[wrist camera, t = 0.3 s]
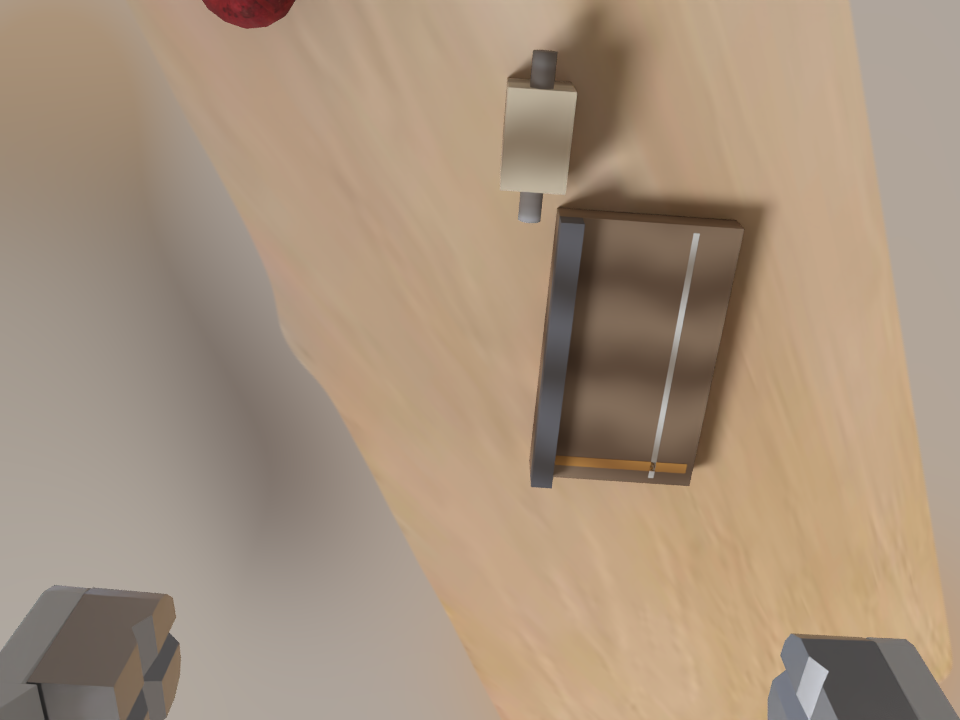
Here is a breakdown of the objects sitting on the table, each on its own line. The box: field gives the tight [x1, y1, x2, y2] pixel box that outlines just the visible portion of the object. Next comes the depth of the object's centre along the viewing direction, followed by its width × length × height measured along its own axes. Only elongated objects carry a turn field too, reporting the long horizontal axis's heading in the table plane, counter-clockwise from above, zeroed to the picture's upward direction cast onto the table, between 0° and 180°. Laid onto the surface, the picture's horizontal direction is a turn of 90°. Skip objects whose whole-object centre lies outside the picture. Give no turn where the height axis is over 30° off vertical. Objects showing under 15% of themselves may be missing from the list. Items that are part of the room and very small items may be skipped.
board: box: [529, 208, 744, 488], centre depth 58 cm, size 20×12×4 cm, turn 176°
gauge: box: [500, 50, 577, 223], centre depth 51 cm, size 10×4×4 cm, turn 176°
